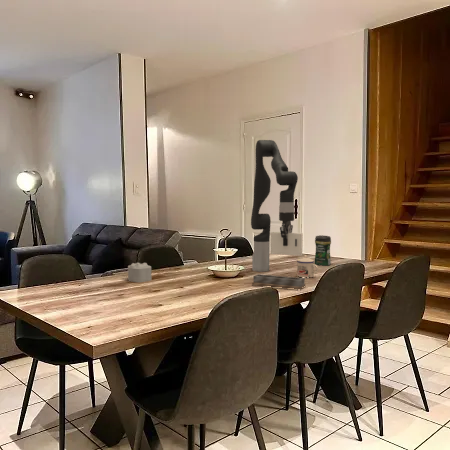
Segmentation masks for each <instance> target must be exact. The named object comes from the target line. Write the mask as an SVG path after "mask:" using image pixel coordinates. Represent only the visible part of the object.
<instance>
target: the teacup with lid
mask: <svg viewBox="0 0 450 450" xmlns="http://www.w3.org/2000/svg"><path fill="white" fill-rule="evenodd" d="M296 262H297V267H296V269H297V270H296V271H297V274H296V275H297V277H298V276H299V277H313V278H314V274H315V275H316V274H317V273H318V272H319V267H318V266H319V265H316V264H315V259H312V258H310V257H308V255H306V254H305V255H303V257H300V258H298V259H297V261H296ZM314 268H315V271H314ZM299 277H298V278H299Z"/></svg>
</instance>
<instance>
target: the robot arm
mask: <svg viewBox="0 0 450 450" xmlns="http://www.w3.org/2000/svg"><path fill="white" fill-rule="evenodd" d="M264 158H272V159H271V161H270V166H271V169H272V170H273V172H274V174H275V179H276V183H277V184H278V185H279V186H288V187H287V189H284V190H280V192H279V206H278V210H279V211H278V221H280V222H281V226H279V232H281V237H282V238H283V246H288V234H289V233H293V228H294V225H293V224H292V222H294V220H295V197H294V196H295V193H296V192H295V191H296V187H297V184H298V179H299V178H298V173H296V171H289V167H288V165H287V164H286V162H285V160H284V159H283V157H282V155H281V152H280V148H279V146H278V144H277V142H276V141H274V140H272V139H259V140H257V141H256V144H255V168H254V169H255V171H254V180H253V181H254V182H253V202H252V209H251V219H250V227H251V228H252V230H256V231H258V230H262V231H261V232H260V233H258V234H256V235H253V254H252V255H251V256H252V258H251V261H252V262H251V263H252V266H251V268H252V269H251V270H252V271H253V272H259V273H260V272H265V273H266V272H270V254H271V222H272V221H271V216H270V214H269V213H260V209H261V207H262V205H263V204H264V202H265V201H266V199H267V198H268V196H269V195H270V192H271V186H272V185H271V184H272V183H271V181H272V180H271V178H270V176H269V173H268V171H267V170H266V168H265V165H264ZM284 234H285V235H284Z"/></svg>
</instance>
